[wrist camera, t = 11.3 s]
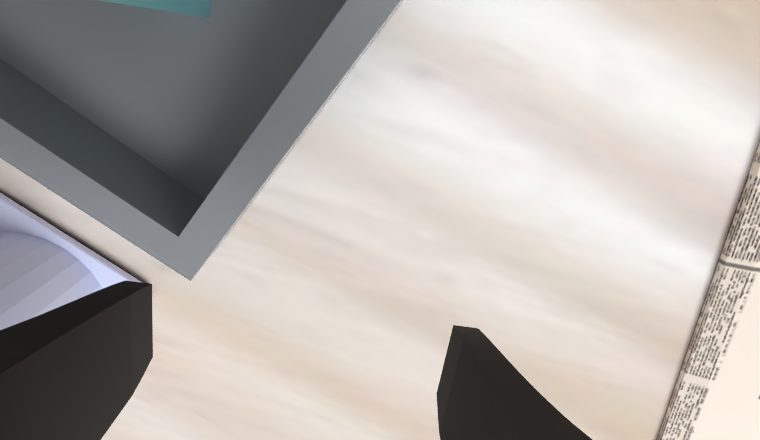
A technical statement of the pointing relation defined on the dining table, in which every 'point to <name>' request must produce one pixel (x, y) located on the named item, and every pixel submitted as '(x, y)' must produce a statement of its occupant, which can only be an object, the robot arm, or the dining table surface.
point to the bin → (170, 106)
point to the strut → (172, 5)
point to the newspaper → (725, 340)
